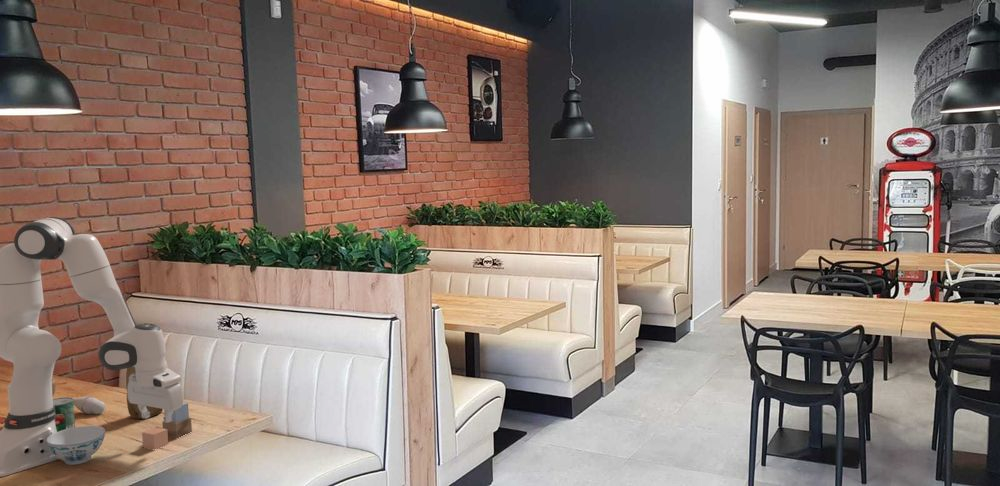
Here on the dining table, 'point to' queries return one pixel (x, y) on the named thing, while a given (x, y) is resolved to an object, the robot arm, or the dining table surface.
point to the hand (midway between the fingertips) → (156, 419)
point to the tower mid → (180, 413)
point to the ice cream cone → (89, 405)
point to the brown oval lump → (134, 408)
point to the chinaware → (76, 443)
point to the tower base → (178, 428)
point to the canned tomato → (64, 413)
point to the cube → (155, 438)
